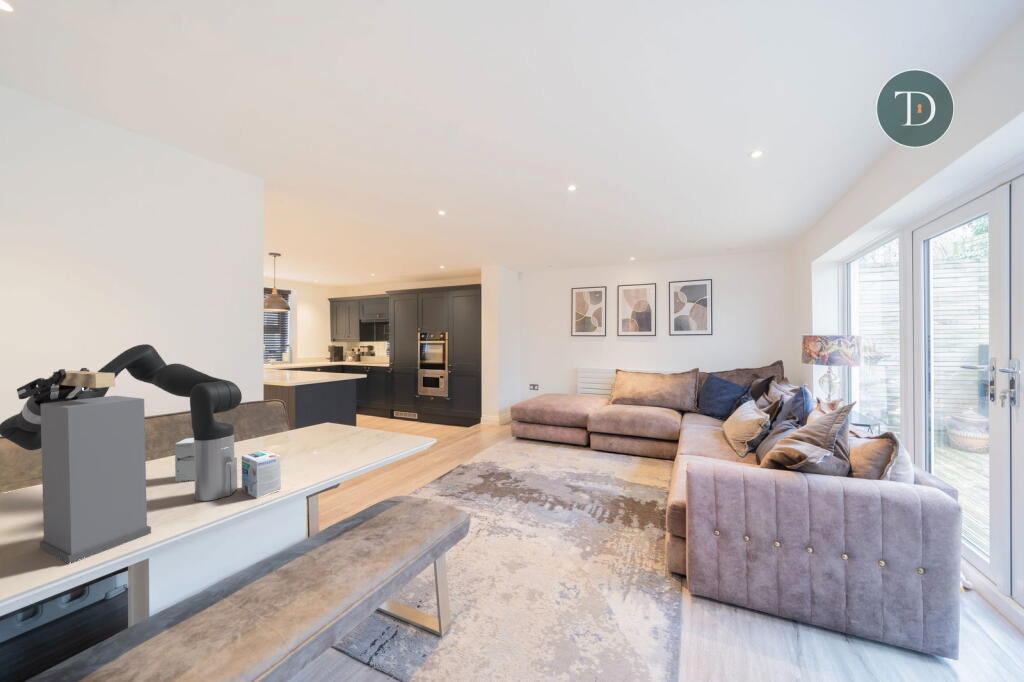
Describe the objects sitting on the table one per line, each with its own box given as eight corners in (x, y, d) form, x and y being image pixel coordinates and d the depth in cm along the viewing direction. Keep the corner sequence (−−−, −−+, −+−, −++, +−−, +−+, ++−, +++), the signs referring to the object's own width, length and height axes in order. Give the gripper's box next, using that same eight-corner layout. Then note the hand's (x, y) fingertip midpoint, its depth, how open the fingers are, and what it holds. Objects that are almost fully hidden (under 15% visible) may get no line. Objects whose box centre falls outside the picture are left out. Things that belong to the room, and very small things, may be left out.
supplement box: (174, 482, 119) (173, 443, 119) (187, 474, 126) (186, 437, 126) (201, 480, 121) (200, 441, 121) (213, 472, 128) (212, 435, 128)
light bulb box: (241, 491, 112) (240, 455, 112) (265, 483, 118) (265, 449, 118) (257, 499, 106) (256, 461, 106) (282, 491, 112) (281, 455, 112)
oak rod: (53, 384, 90) (53, 371, 90) (72, 382, 93) (71, 370, 93) (96, 388, 81) (95, 374, 81) (114, 386, 84) (114, 373, 84)
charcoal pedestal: (39, 548, 82) (35, 403, 82) (120, 521, 94) (117, 395, 94) (69, 564, 76) (65, 408, 76) (150, 533, 88) (147, 398, 88)
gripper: (0, 395, 89) (24, 359, 83) (86, 387, 102) (111, 356, 96) (7, 423, 87) (31, 389, 81) (93, 412, 100) (119, 382, 94)
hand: (74, 372), depth 89 cm, fingers closed on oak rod, 3 cm apart
